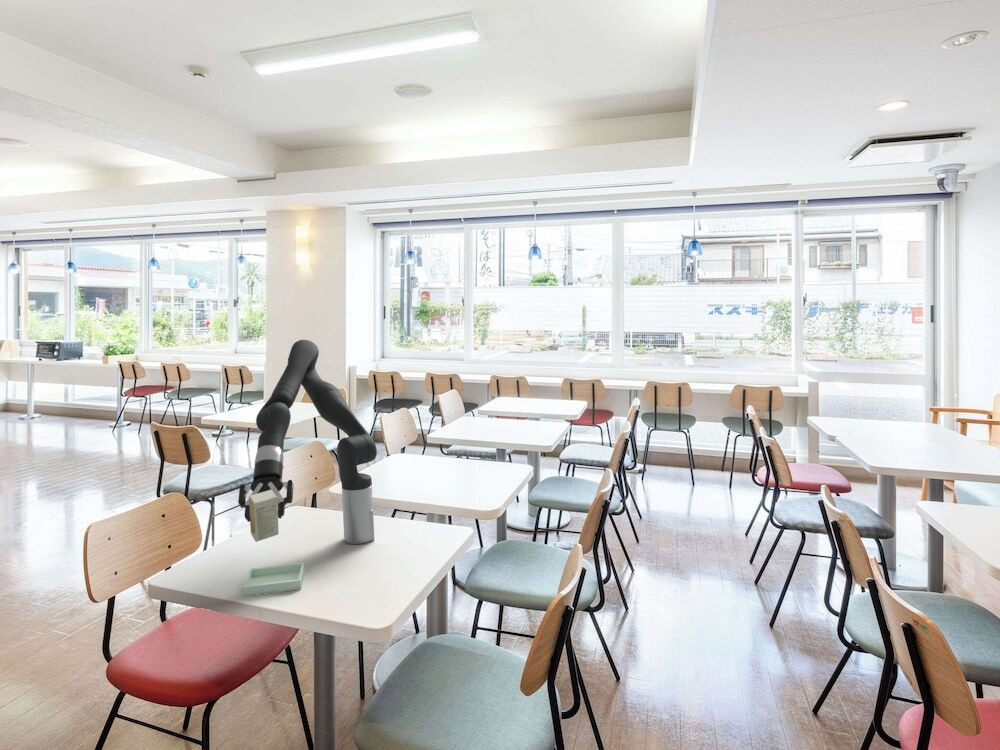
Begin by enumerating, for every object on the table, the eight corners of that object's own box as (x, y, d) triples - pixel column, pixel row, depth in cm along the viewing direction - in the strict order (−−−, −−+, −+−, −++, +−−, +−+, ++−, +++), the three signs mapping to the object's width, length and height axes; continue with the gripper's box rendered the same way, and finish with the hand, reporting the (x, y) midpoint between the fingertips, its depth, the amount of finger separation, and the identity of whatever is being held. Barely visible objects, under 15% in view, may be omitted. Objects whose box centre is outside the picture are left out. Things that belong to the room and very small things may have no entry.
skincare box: (273, 526, 157) (273, 488, 153) (279, 535, 154) (279, 496, 150) (249, 533, 153) (248, 494, 149) (254, 542, 150) (253, 503, 146)
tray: (304, 571, 158) (304, 562, 158) (301, 589, 148) (300, 580, 148) (250, 577, 155) (249, 568, 155) (242, 596, 144) (242, 587, 144)
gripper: (297, 469, 166) (294, 521, 156) (245, 473, 163) (238, 527, 153) (293, 456, 160) (289, 509, 150) (239, 460, 158) (231, 515, 148)
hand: (264, 518), depth 152 cm, fingers closed on skincare box, 7 cm apart
